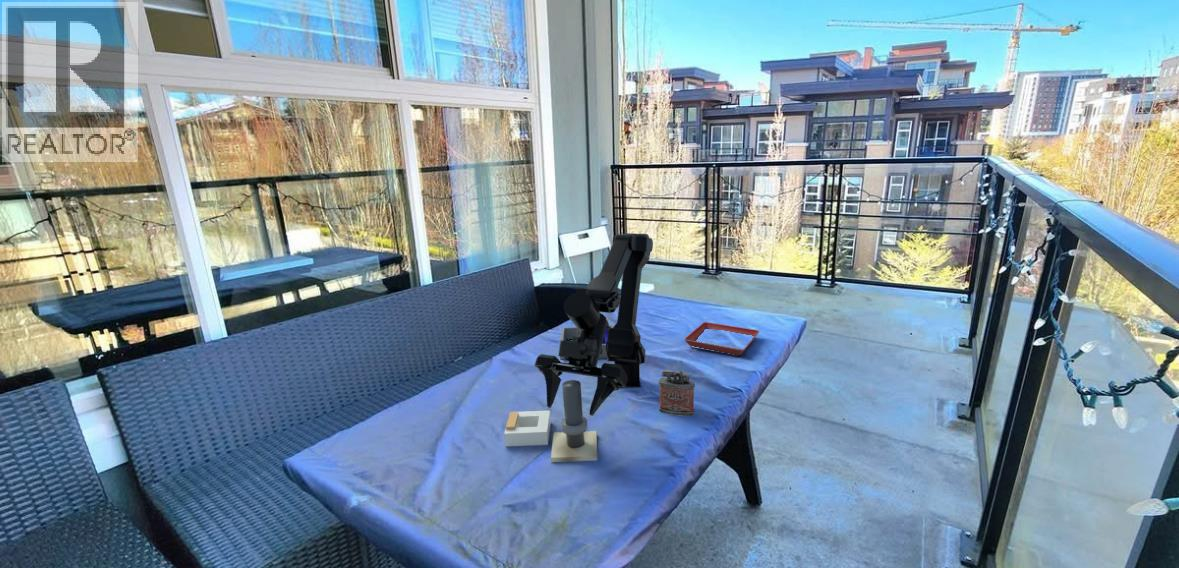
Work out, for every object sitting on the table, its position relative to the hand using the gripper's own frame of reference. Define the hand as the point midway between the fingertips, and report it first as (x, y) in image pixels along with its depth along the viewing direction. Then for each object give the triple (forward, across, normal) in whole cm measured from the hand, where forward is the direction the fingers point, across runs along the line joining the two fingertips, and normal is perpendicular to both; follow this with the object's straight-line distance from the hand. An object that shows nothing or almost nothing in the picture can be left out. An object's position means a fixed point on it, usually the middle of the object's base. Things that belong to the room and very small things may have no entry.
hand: (569, 411), depth 98 cm
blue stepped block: (-31, -16, +44) cm, 57 cm away
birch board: (+5, 0, +7) cm, 9 cm away
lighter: (-9, +16, +23) cm, 29 cm away
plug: (+4, 0, +7) cm, 8 cm away
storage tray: (-30, -19, +43) cm, 56 cm away
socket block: (+4, -12, +8) cm, 15 cm away
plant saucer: (-41, +19, +55) cm, 71 cm away
